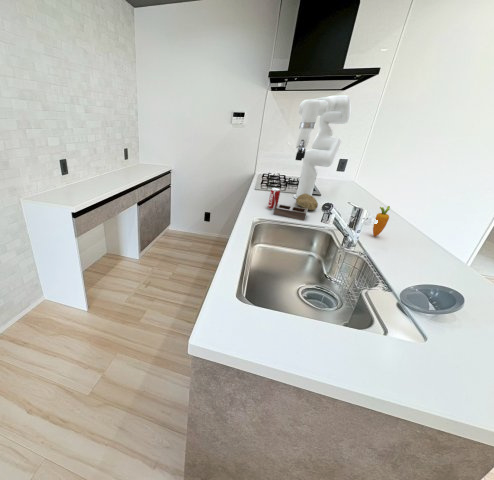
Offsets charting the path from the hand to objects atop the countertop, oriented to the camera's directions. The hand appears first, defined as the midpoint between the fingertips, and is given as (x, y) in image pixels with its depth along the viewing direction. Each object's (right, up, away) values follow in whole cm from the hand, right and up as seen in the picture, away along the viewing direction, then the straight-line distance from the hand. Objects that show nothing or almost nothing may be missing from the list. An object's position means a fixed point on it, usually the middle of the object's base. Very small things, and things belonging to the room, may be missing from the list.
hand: (299, 159), depth 146 cm
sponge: (+10, -25, +13) cm, 30 cm away
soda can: (-12, -27, +9) cm, 31 cm away
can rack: (-6, -32, 0) cm, 32 cm away
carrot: (+24, -44, -24) cm, 56 cm away
